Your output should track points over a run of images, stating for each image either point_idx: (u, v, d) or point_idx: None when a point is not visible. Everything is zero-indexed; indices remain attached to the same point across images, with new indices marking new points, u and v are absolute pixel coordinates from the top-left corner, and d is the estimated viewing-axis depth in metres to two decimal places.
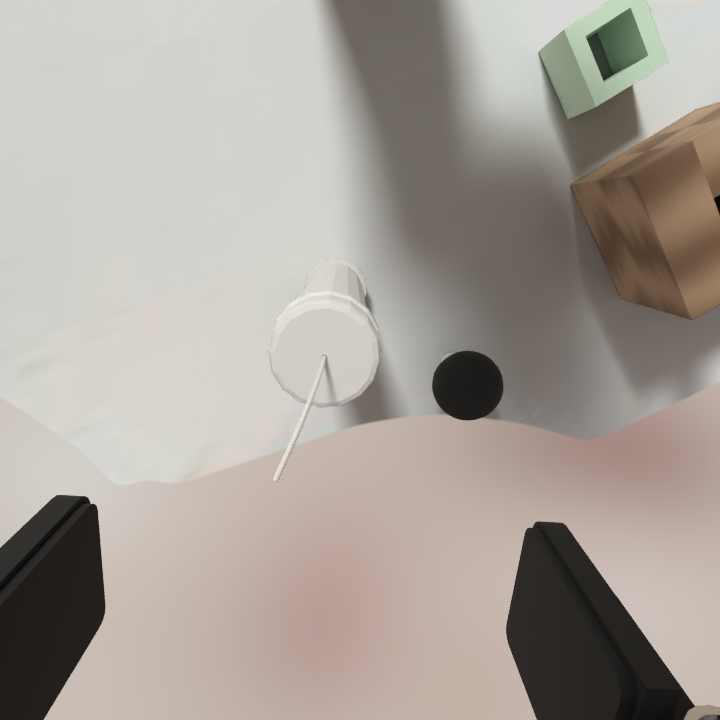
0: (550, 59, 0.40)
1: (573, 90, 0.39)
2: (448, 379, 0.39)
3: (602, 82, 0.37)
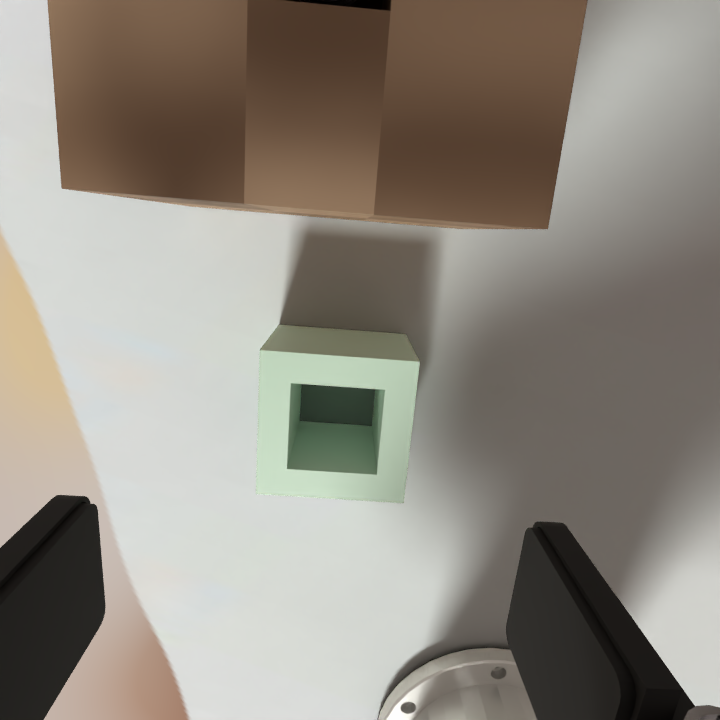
0: None
1: None
2: None
3: (387, 392, 0.19)
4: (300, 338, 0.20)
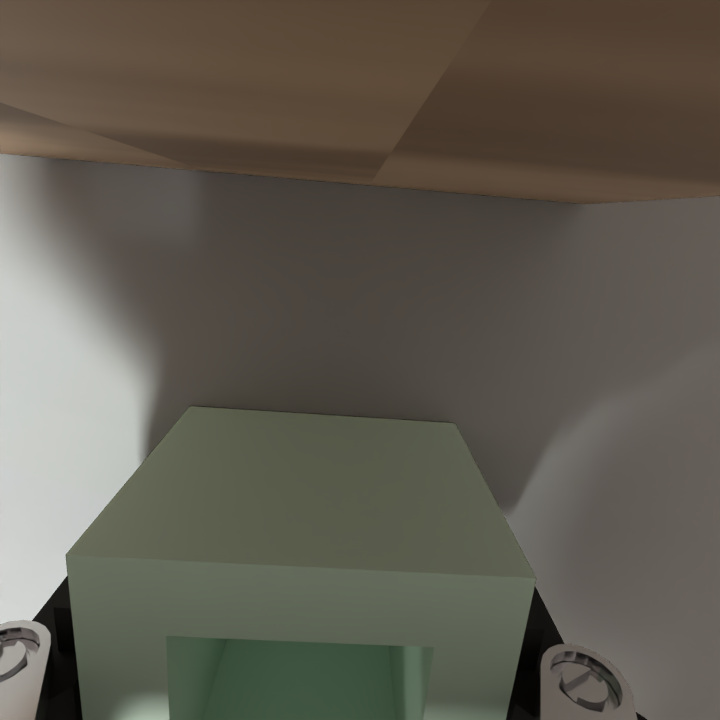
0: None
1: None
2: None
3: (440, 654, 0.07)
4: (217, 466, 0.08)
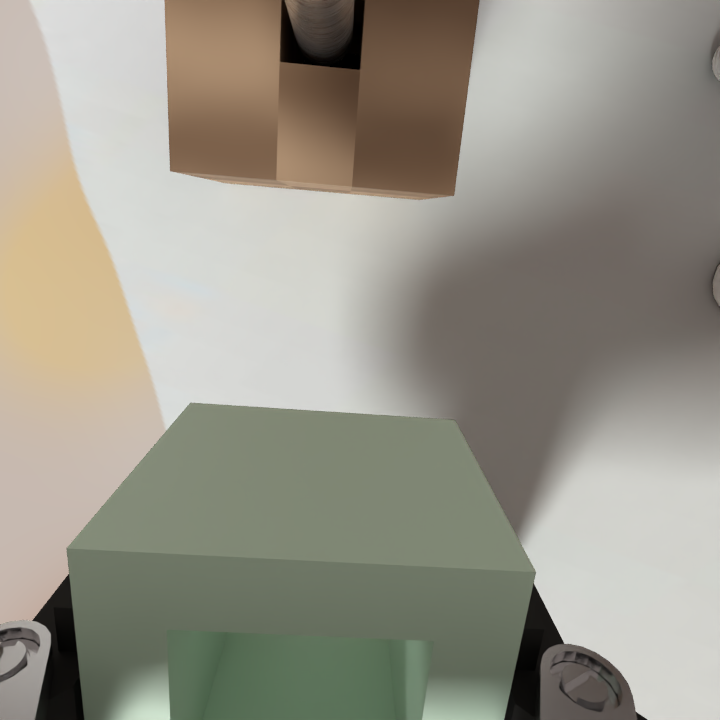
0: None
1: None
2: None
3: (440, 647, 0.07)
4: (218, 461, 0.08)
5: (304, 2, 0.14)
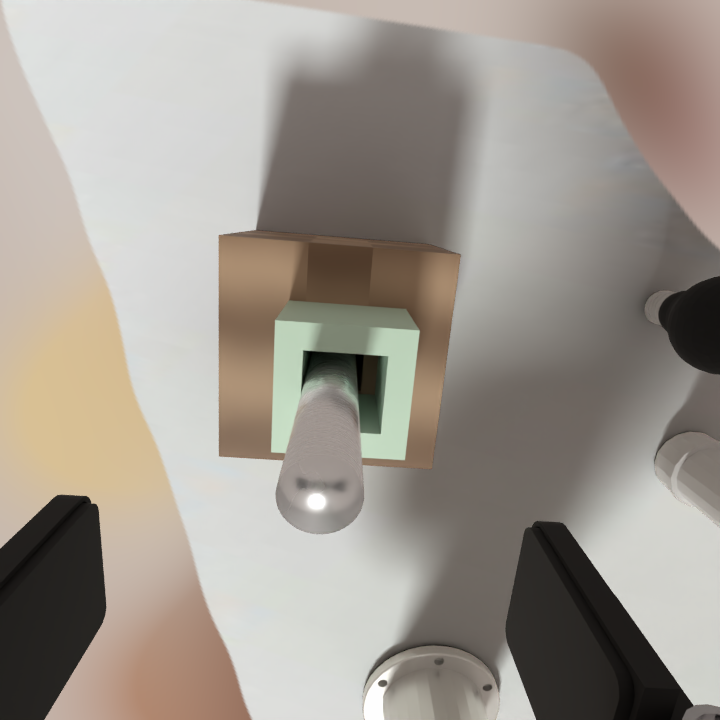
0: None
1: None
2: None
3: (390, 358, 0.21)
4: (310, 311, 0.22)
5: None
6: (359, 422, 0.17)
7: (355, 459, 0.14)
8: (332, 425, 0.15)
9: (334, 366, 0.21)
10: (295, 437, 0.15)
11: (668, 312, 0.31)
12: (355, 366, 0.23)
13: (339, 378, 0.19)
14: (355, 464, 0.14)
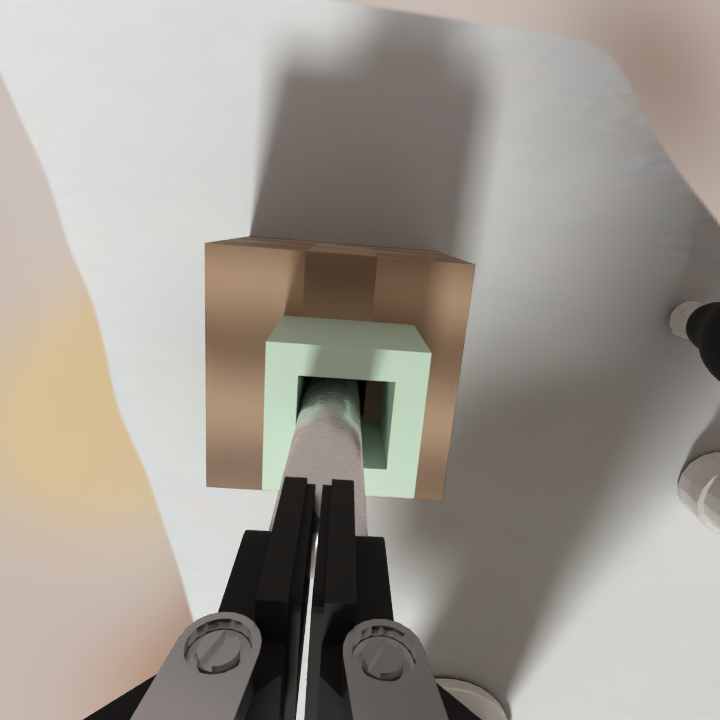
0: None
1: None
2: None
3: (398, 385, 0.18)
4: (306, 329, 0.20)
5: None
6: (361, 446, 0.16)
7: (358, 494, 0.12)
8: (332, 454, 0.13)
9: (335, 382, 0.19)
10: (291, 467, 0.13)
11: (698, 326, 0.29)
12: (357, 381, 0.22)
13: (340, 397, 0.18)
14: (358, 500, 0.12)
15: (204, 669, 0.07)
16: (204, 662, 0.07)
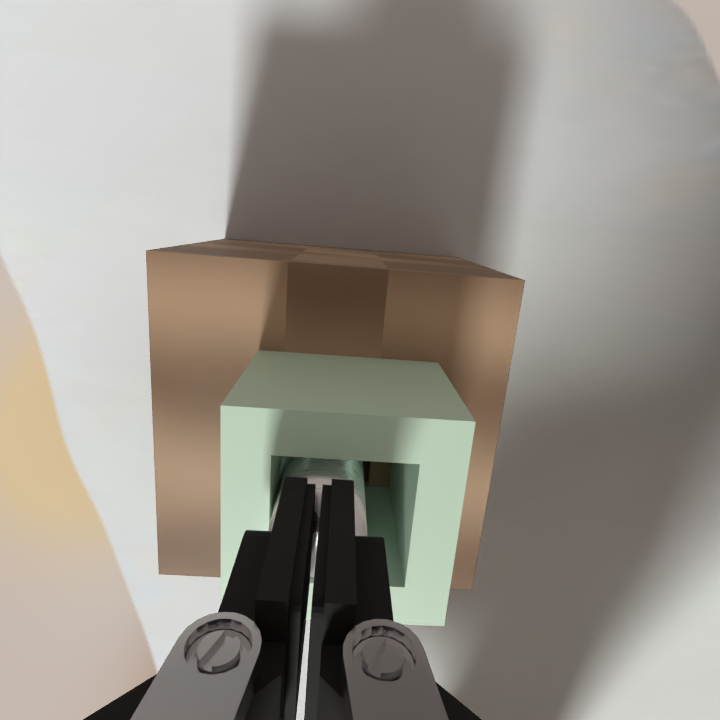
0: None
1: None
2: None
3: (423, 468, 0.12)
4: (287, 376, 0.14)
5: None
6: None
7: (357, 493, 0.12)
8: None
9: None
10: (291, 466, 0.13)
11: None
12: None
13: None
14: (357, 499, 0.12)
15: (204, 669, 0.07)
16: (204, 662, 0.07)
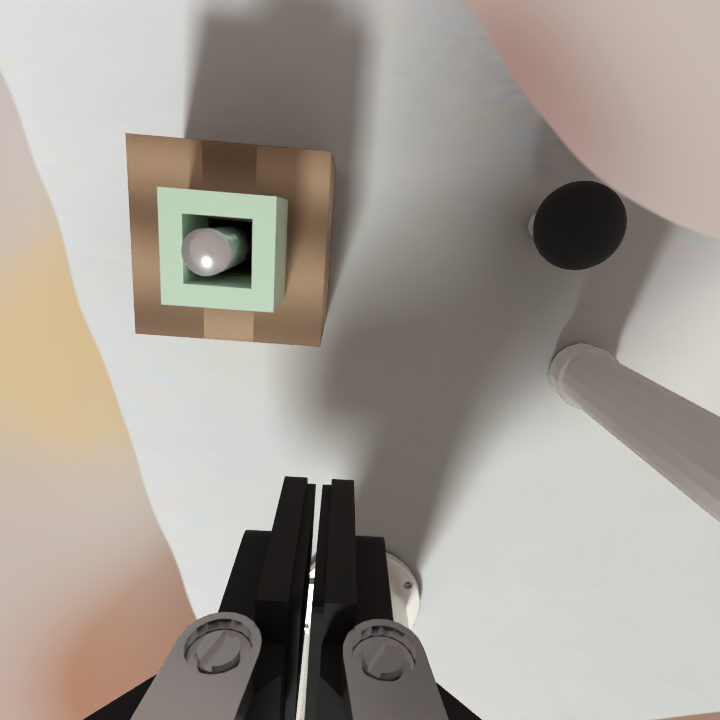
0: (282, 283, 0.30)
1: (280, 233, 0.27)
2: (600, 259, 0.32)
3: (254, 221, 0.25)
4: None
5: None
6: (245, 244, 0.29)
7: (226, 238, 0.26)
8: (219, 228, 0.27)
9: (240, 226, 0.33)
10: None
11: None
12: None
13: (239, 227, 0.31)
14: (224, 238, 0.25)
15: (204, 669, 0.07)
16: (204, 662, 0.07)
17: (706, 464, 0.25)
